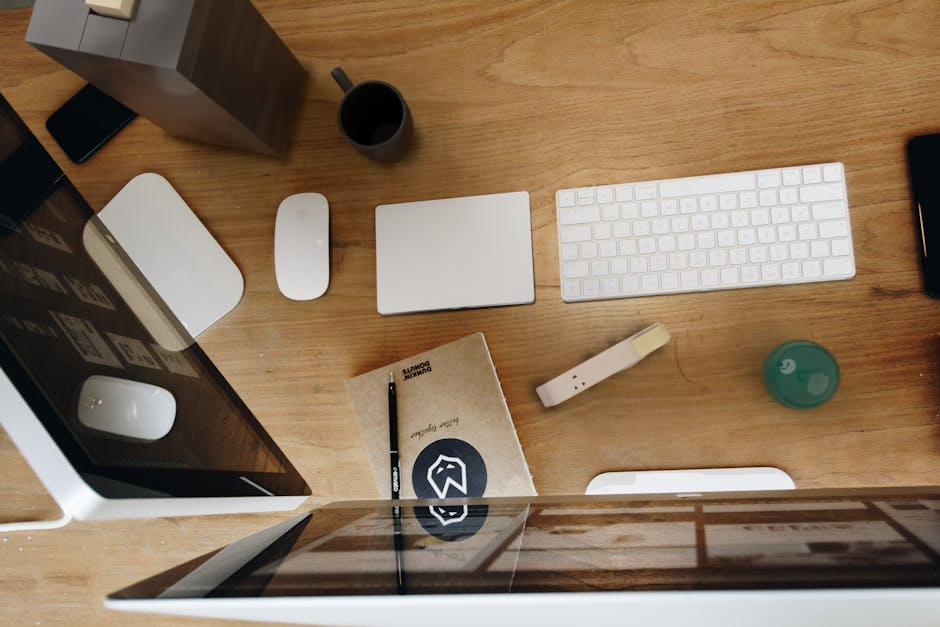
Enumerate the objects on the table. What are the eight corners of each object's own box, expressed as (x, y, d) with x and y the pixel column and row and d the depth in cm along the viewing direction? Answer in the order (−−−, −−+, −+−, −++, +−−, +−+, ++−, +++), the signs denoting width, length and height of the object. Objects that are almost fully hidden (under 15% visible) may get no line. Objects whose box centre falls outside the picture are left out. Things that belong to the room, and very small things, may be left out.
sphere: (740, 392, 81) (760, 394, 73) (767, 329, 81) (790, 324, 73) (808, 421, 80) (836, 426, 72) (835, 357, 80) (866, 355, 72)
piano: (171, 135, 93) (23, 41, 67) (194, 49, 93) (57, -77, 68) (283, 158, 90) (175, 70, 65) (306, 70, 91) (208, -52, 65)
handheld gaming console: (654, 349, 84) (546, 409, 83) (642, 329, 85) (535, 388, 84) (682, 338, 73) (558, 407, 72) (668, 315, 74) (545, 383, 73)
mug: (381, 76, 90) (361, 40, 80) (435, 147, 88) (421, 119, 79) (330, 115, 90) (304, 84, 81) (383, 186, 88) (363, 163, 79)
